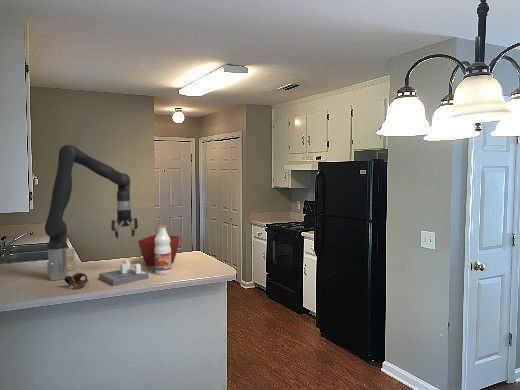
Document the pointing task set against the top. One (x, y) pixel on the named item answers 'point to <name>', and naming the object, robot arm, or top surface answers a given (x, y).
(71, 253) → the supplement box
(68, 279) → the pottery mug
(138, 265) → the breaker near
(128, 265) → the block
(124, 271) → the breaker
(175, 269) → the top surface
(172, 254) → the plant pot
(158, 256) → the fruit juice
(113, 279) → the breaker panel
